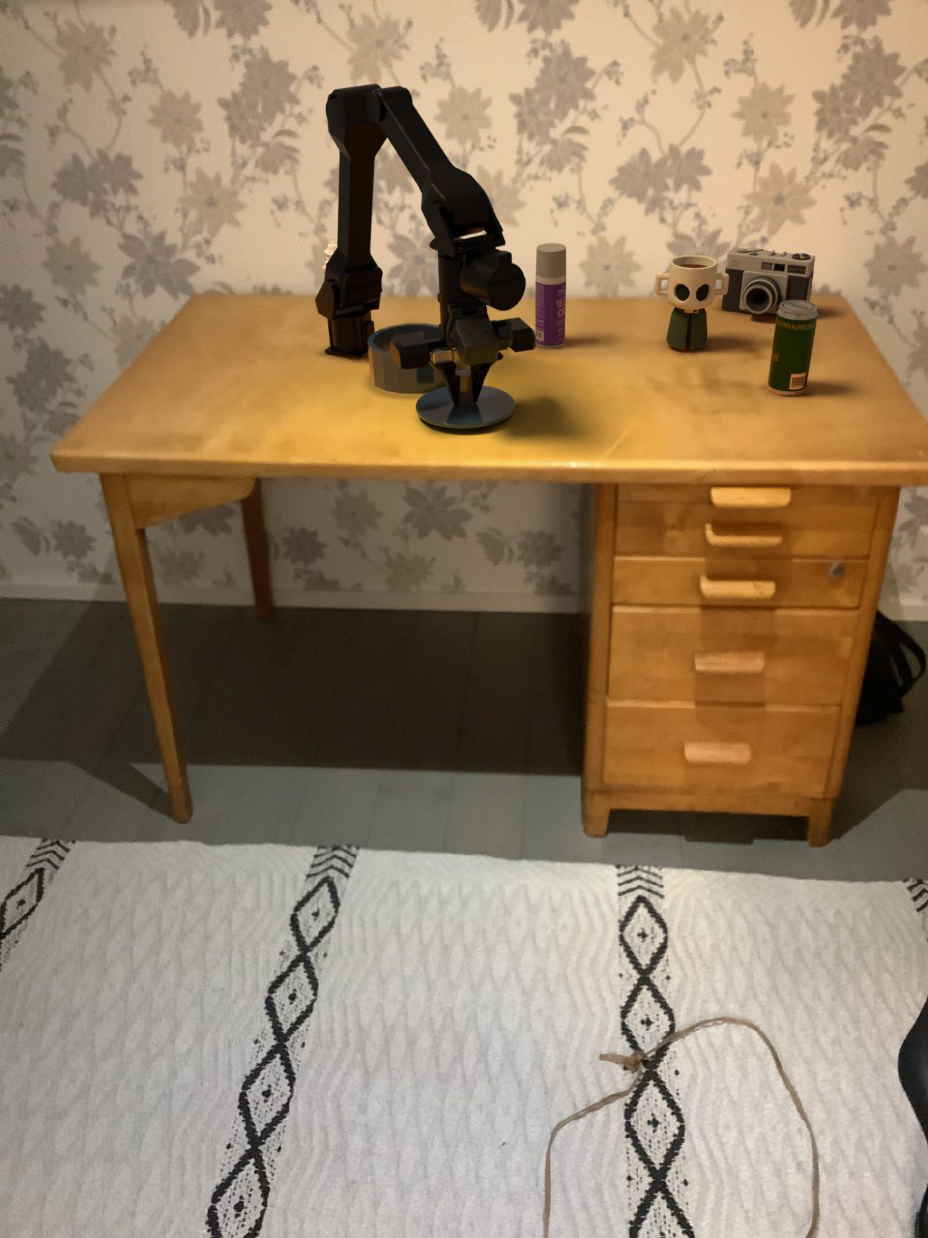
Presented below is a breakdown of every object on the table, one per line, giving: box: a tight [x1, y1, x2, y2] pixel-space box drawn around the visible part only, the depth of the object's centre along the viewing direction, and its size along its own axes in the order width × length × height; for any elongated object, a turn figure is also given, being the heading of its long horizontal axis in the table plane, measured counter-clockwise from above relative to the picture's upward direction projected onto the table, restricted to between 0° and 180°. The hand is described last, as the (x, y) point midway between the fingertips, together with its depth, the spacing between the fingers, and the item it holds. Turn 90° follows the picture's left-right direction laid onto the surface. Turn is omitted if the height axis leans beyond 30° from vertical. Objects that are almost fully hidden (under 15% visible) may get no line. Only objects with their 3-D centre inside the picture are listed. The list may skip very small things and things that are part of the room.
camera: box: [721, 247, 816, 318], centre depth 177 cm, size 14×9×10 cm, turn 55°
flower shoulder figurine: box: [322, 235, 337, 275], centre depth 185 cm, size 9×4×12 cm, turn 171°
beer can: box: [767, 300, 819, 397], centre depth 151 cm, size 5×5×12 cm
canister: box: [367, 322, 458, 395], centre depth 160 cm, size 13×13×6 cm
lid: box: [415, 369, 516, 429], centre depth 148 cm, size 14×14×6 cm
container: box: [534, 242, 567, 350], centre depth 168 cm, size 5×5×15 cm
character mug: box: [653, 254, 729, 350], centre depth 166 cm, size 11×7×13 cm, turn 84°
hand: (464, 402), depth 149 cm, fingers closed on lid, 2 cm apart
